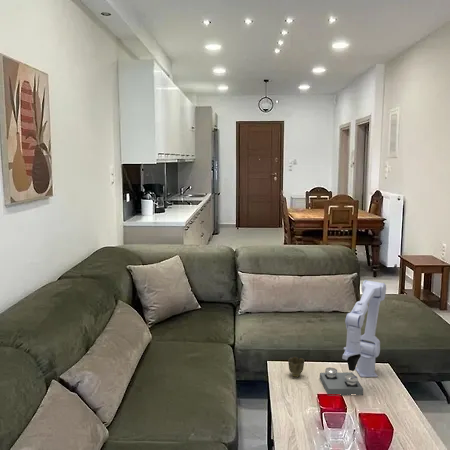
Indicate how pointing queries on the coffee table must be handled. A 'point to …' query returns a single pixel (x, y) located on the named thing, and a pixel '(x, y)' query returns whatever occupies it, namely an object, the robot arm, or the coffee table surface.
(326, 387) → the knob board
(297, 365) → the cup
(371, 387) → the coffee table surface
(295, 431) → the coffee table surface
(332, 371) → the knob
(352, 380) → the knob
